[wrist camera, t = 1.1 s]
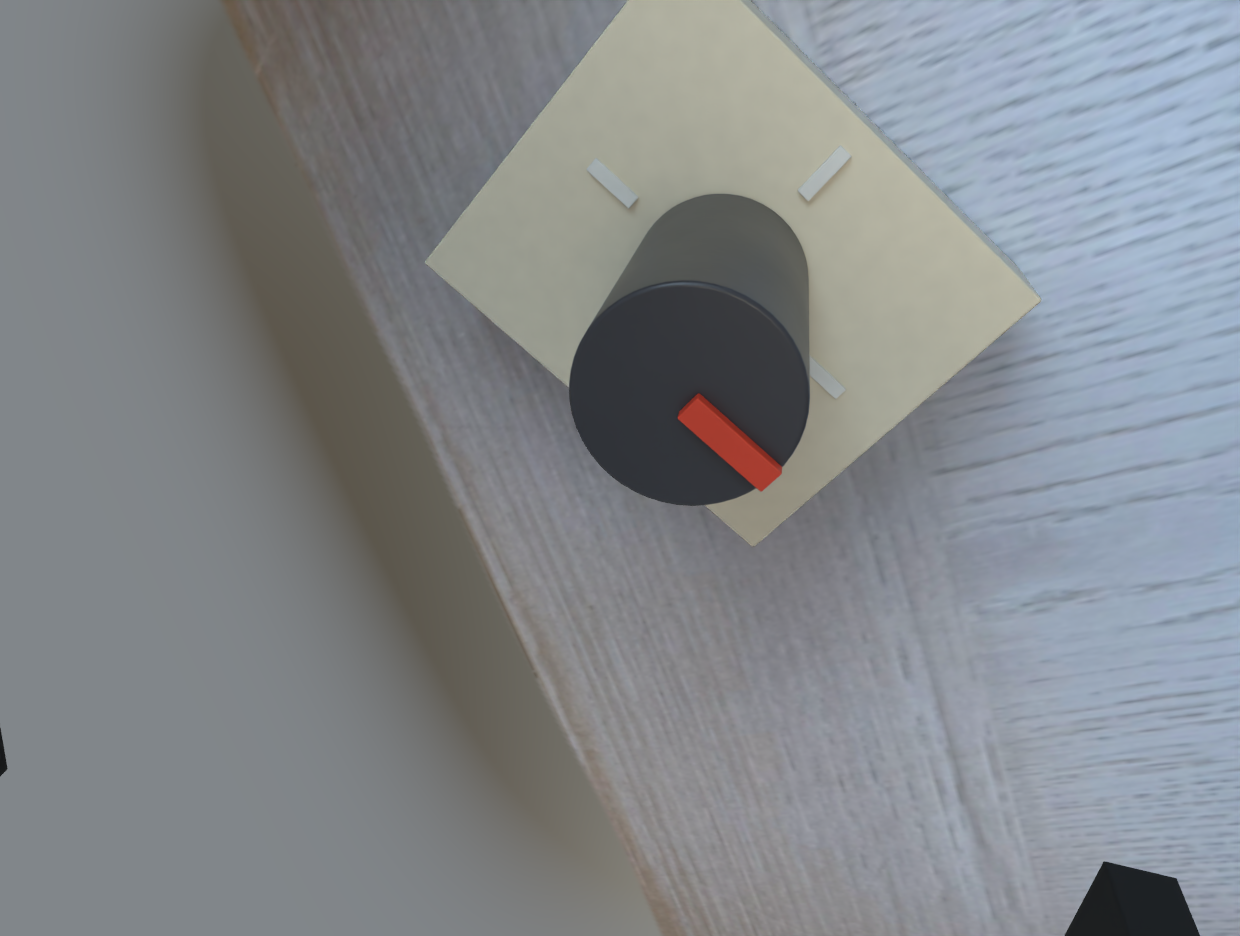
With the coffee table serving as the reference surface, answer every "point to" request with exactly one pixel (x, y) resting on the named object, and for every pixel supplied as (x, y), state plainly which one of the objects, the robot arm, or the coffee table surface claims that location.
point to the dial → (699, 356)
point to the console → (753, 168)
